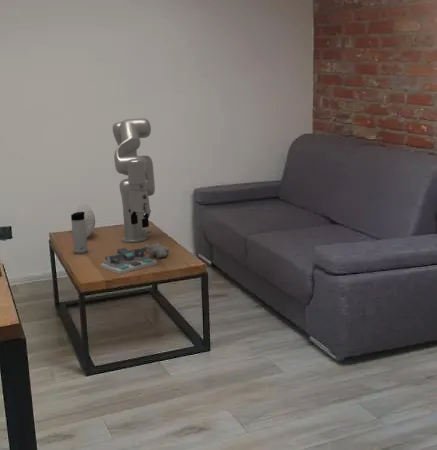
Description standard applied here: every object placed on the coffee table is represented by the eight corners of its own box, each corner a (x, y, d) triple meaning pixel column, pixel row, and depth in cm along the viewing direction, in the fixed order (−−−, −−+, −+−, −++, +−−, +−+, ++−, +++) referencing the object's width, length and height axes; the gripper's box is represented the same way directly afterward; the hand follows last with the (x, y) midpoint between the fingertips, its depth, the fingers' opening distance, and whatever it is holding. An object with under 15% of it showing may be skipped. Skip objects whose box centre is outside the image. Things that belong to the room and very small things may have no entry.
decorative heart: (74, 233, 370) (71, 202, 365) (94, 231, 372) (92, 200, 368) (77, 242, 353) (74, 209, 349) (98, 240, 355) (95, 207, 351)
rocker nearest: (137, 252, 320) (136, 248, 320) (146, 251, 314) (145, 247, 313) (129, 254, 317) (129, 250, 317) (139, 253, 311) (138, 249, 311)
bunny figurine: (153, 252, 316) (141, 241, 329) (153, 262, 318) (141, 251, 331) (172, 249, 320) (160, 238, 333) (172, 259, 322) (160, 248, 335)
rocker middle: (124, 250, 315) (124, 247, 315) (134, 258, 310) (134, 255, 309) (117, 252, 313) (117, 249, 312) (127, 260, 308) (127, 257, 307)
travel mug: (85, 254, 330) (81, 213, 326) (72, 254, 332) (68, 213, 327) (90, 250, 336) (86, 210, 332) (77, 250, 338) (73, 210, 333)
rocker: (113, 258, 311) (112, 254, 311) (122, 257, 305) (121, 253, 305) (105, 260, 309) (104, 256, 309) (114, 259, 303) (114, 255, 303)
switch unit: (138, 257, 323) (137, 246, 321) (157, 263, 312) (156, 252, 310) (101, 267, 310) (100, 255, 309) (119, 274, 299) (118, 262, 298)
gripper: (156, 188, 302) (158, 227, 306) (133, 183, 315) (135, 221, 319) (141, 190, 297) (144, 230, 301) (119, 185, 310) (122, 224, 314)
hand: (140, 225), depth 310 cm, fingers open, 7 cm apart
